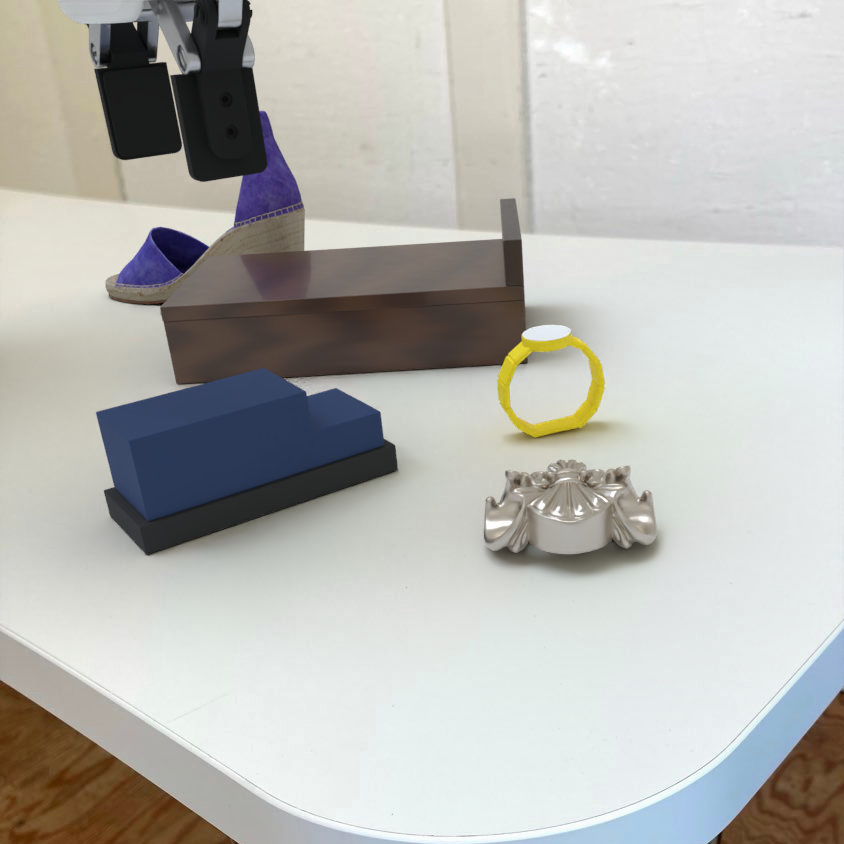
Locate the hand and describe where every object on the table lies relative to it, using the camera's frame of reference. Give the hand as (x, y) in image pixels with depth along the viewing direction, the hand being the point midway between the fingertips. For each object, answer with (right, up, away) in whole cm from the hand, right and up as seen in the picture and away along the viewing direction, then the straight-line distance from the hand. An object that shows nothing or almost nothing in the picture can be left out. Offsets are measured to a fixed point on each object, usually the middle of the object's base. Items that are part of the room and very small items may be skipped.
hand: (186, 165), depth 47 cm
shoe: (+1, -14, +9) cm, 17 cm away
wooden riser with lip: (+3, -3, +31) cm, 32 cm away
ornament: (+17, -17, +3) cm, 24 cm away
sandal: (-12, +3, +46) cm, 47 cm away
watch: (+17, -11, +15) cm, 25 cm away
